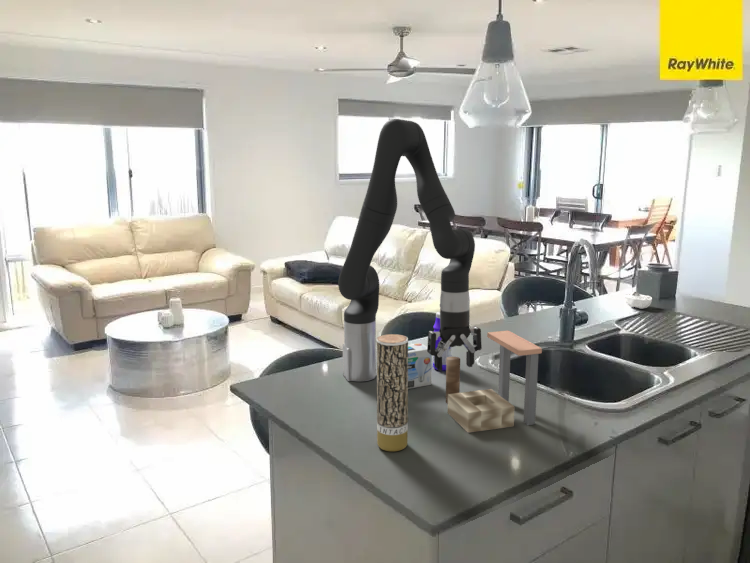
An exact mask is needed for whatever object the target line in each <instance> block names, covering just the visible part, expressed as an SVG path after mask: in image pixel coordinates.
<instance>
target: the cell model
mask: <svg viewBox="0 0 750 563" xmlns="http://www.w3.org/2000/svg"><path fill="white" fill-rule="evenodd" d="M624 299H625V303H626V304H627V306H628V307H631V308H634V307H635V309H641V310H642V309H647V308H648V307H649V306H650V305H651V304H652V300H653V297H652V296H651V295H645V294H641V293H639V292H638V291H633V292H631V293H628V294H625V295H624Z"/></svg>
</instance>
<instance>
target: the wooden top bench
mask: <svg viewBox="0 0 750 563" xmlns="http://www.w3.org/2000/svg"><path fill="white" fill-rule="evenodd" d="M486 337H487V338H488V339H490V340H492V341H493V342H495V343H496V344H498V345H499V368H498V393H497V394H498V395H500V396H501V397H502V398H504V399H505V400H506V401H508V402H509V401H510V382H511V381H510V378H511V376H510V375H511V353H513V354H515V355H517V356H518V357H520V356H525V357H526V358H525V359H526V360H525V376H524V377H525V379H524V401H523V420H522V421H523V423H524V424H525V425H527V426H531V425H535V424H536V413H537V409H536V408H537V394H538V391H537V390H538V374H539V373H538V372H539V371H538V370H539V354H542V352H543V349H542V347H541V346H538V345H536V344H534V343H533V342H530V341H529V340H527V339H525V338H524V337H521V336H519V335H517V334H516V333H514V332H512V331H510V330H501V331H490V332H489V331H488V332H487V336H486ZM509 403H510V402H509Z"/></svg>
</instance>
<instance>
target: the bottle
mask: <svg viewBox="0 0 750 563" xmlns="http://www.w3.org/2000/svg"><path fill="white" fill-rule="evenodd" d="M433 329H434V330H433V332H439V330H440V311H437V312H436V313H435V322H434V325H433ZM440 340H441V338H440V336H439V337H438V339H437V340H436V348H437V346H438V343H439V342H440ZM444 344H445V343H444ZM436 348H435V349H436ZM441 357H442V371H446V358H447V357H452V347H450V346H449V347H448V349H447V350H446V351H444V353H443V354H442V356H441ZM432 368H433V369H434V370H437V368H436V367H435V365H434V356H432ZM437 371H438V370H437Z"/></svg>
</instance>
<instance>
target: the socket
mask: <svg viewBox="0 0 750 563" xmlns="http://www.w3.org/2000/svg"><path fill="white" fill-rule="evenodd" d="M447 415H449V416H450V417H451V418H452V419H453V420H454V421H455V422H456V423H457V424H459V426H460V427H461V428H463V430H465V431H466V432H467V433H475V432H482V431H489V430H496V429H497V430H498V429H504V428H511V427H514V426H515V406H514V405H513V404H512V403H511V402H508V401H506V400H505V399H504V398H502V397H501V396H500V395H498V393H497V392H496V391H495V390H493V388H490V389H489V388H488V389H479V390H472V391H471V390H470V391H464V392H460V393H454V394H448V404H447Z"/></svg>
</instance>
